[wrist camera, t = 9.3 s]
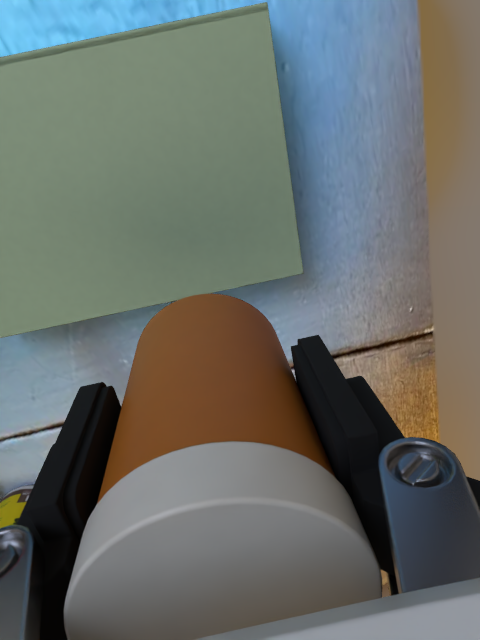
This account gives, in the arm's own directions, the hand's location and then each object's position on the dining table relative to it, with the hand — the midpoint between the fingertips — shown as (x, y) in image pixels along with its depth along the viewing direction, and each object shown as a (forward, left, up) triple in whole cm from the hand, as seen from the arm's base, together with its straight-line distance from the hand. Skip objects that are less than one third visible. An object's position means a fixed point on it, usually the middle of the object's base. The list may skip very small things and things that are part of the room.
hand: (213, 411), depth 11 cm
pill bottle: (0, 0, -3) cm, 3 cm away
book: (+4, -4, -18) cm, 19 cm away
